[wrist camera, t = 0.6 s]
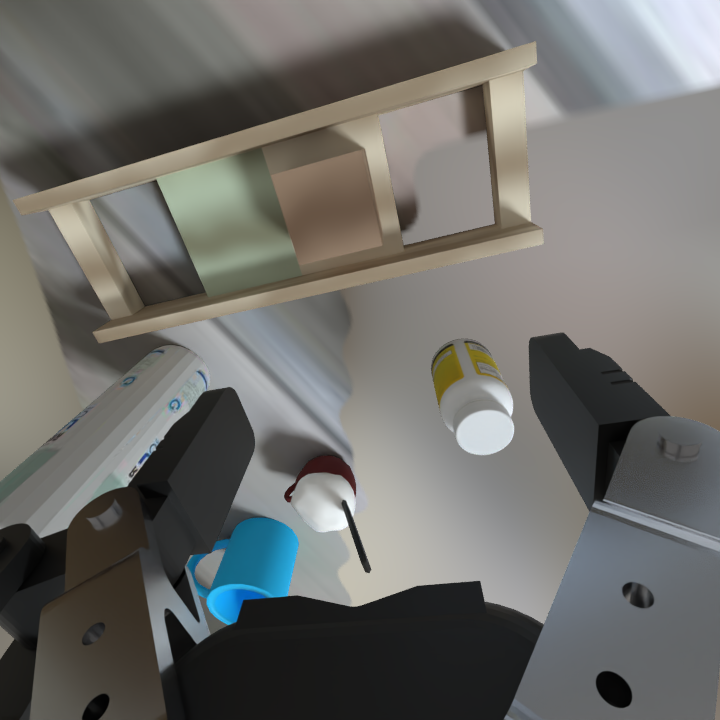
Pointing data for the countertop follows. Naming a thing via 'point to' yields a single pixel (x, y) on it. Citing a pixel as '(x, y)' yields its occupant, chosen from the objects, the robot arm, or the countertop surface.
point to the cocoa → (327, 498)
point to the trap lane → (263, 211)
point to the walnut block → (330, 207)
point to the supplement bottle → (473, 396)
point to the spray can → (103, 442)
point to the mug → (249, 566)
